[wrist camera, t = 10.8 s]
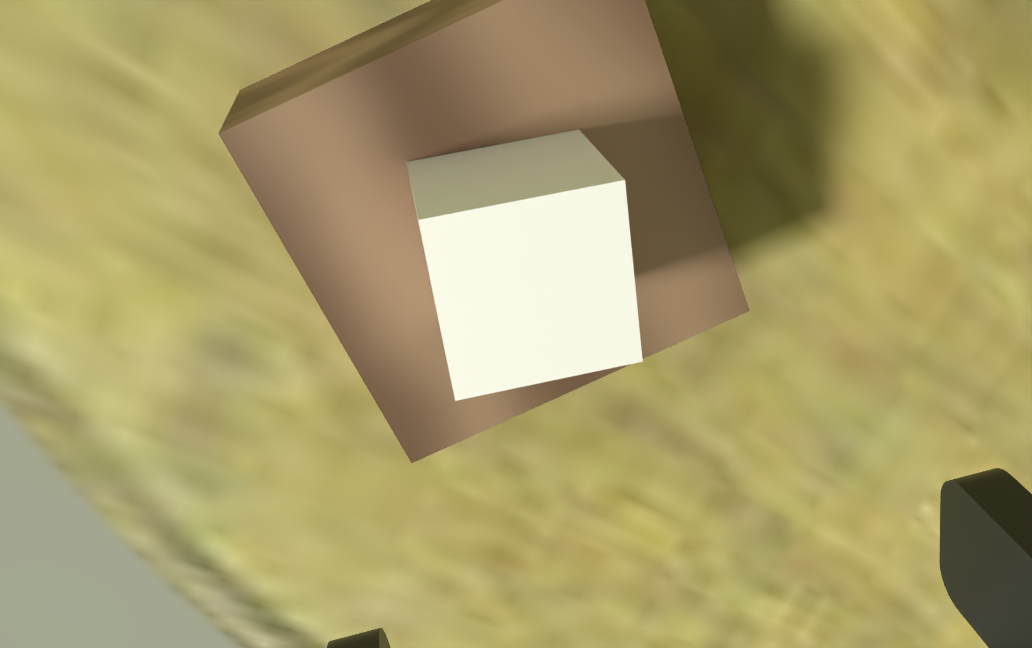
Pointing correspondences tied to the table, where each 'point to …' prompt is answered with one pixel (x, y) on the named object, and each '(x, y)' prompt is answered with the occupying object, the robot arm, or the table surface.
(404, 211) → the walnut box
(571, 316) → the cube
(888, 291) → the table surface
